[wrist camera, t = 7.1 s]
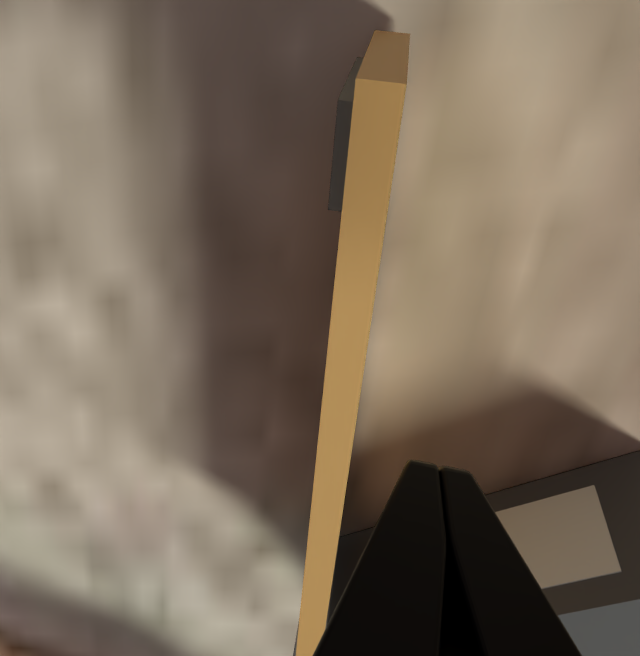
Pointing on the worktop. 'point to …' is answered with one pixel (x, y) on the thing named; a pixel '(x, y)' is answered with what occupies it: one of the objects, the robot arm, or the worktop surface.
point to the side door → (351, 298)
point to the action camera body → (567, 550)
